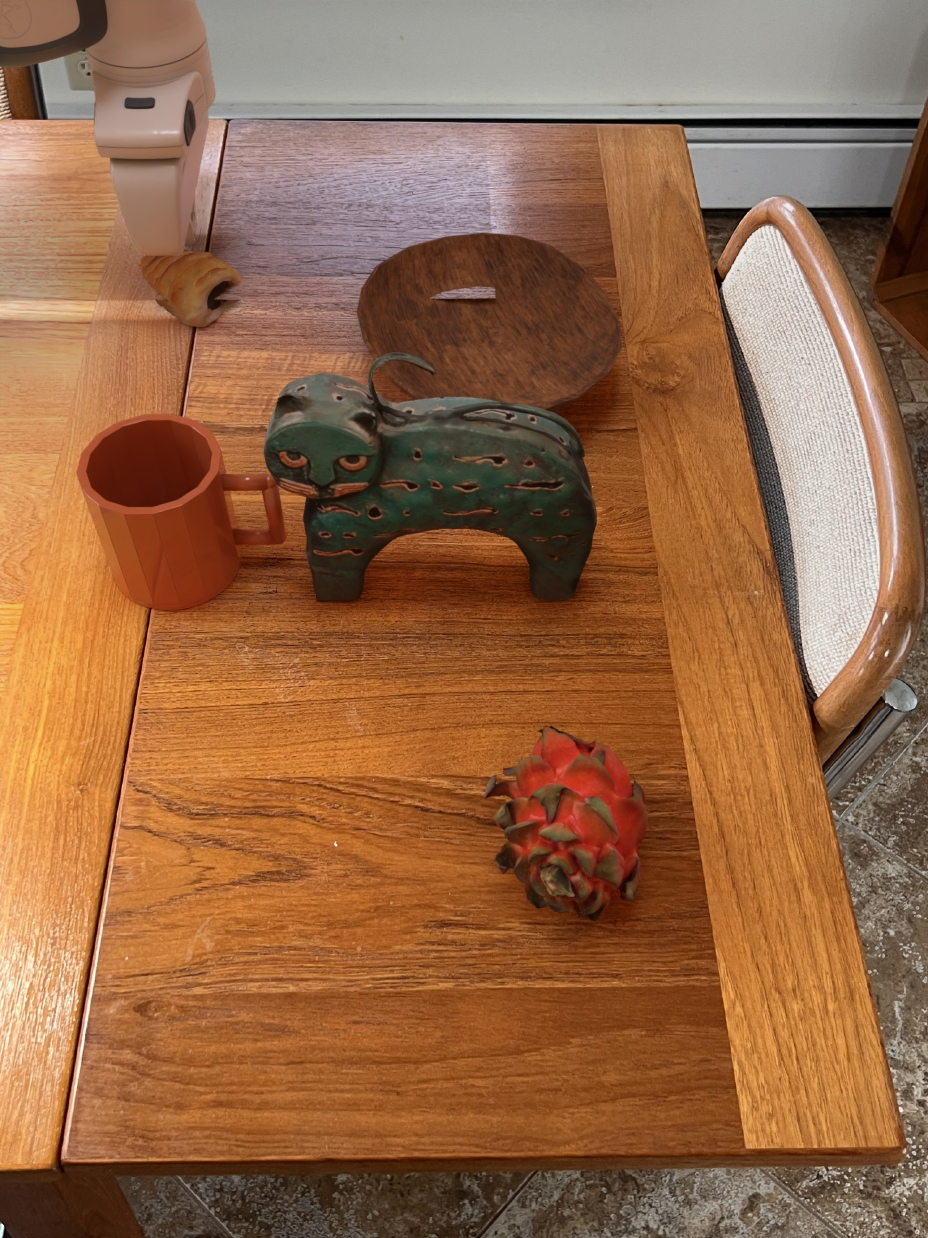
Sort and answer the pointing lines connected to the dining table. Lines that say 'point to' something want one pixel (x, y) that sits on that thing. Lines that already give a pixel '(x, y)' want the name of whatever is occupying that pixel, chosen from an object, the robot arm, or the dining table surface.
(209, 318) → the pastry
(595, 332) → the bowl
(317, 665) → the dining table surface
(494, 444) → the ceramic cat
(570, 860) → the dragon fruit
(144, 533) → the mug
